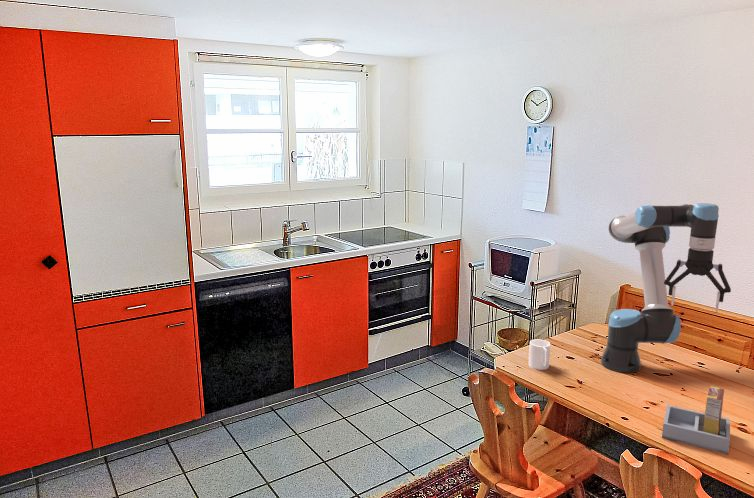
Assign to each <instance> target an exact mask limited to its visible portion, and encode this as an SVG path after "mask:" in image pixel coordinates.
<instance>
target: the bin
mask: <svg viewBox="0 0 754 498" xmlns="http://www.w3.org/2000/svg"><path fill="white" fill-rule="evenodd" d="M704 419H705V412H701V411H697V410H691V409H688V408H683V407H678V406H674V405H670V404H667V405H666V409H665V414H664V420H663V425H662V432H661V439H666V440H669V441H673V442H677V443H681V444H684V445H688V446H692V447H696V448H701V449H704V450H709V451H713V452H716V453H721V454H724V455H729V450H730V443H731V418H728V417H722V416H721V424H720V433H719V435H715V434H711V433H706V432H703V428H704Z"/></svg>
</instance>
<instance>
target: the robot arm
mask: <svg viewBox="0 0 754 498" xmlns="http://www.w3.org/2000/svg"><path fill="white" fill-rule="evenodd" d="M719 209H720V208H719V205H717V204H716V203H715V204H714V203H709V202H708V203H707V202H706V203H705V202H702V203H701V202H700V203H695V204H694V205H693V204H687V203H685V204H684V203H683V204H680V205H651V204H648V205H639V206H638V207H637V208H636V209H635V212H633V213H631V214H628V215H619V216H616V217H614V218H613V219H612V220H611V221H610V222H609V225H608V233H609V235H610V236H611V237H612V239H614V240H616V241H618V242H620V243H625V244H626V243H627V244H634V248H635V250H637V251H638V252H639V258H640V259H639V261H640V267H641V268H640V269H641V278H642V279H641V280H642V288H643V289H642V290H643V298H644V299H643V300H644V308H642V310H641V311H639V310H637V309H631V308H620V309H615V310H614V311H612V312H611V313H610V315H609V320H608V331H607V343H606V347H605V349H604V351H603V353H602V355H601V359H600V362H601V366H603V367H604V368H607V369H609V370H611V371H613V372H618V373H630V374H631V373H637V372H639V371H640V370H641V367H642V361H641V358H640V354H639V353H640V352H639V351H638V350H639V349H638V348H639V344H641V343H643V344H644V343H645V344H647V343H648V344H650V343H651V344H672V343H675V342H677V340H678V339H679V337H680V334H681V328H682V322H681V321H682V320H681V319H680V317H679V315H678V314H674V309H673V308H672V307H670V305H671V306H674V304H675V299H676V297H675V296H676V287H677V286H676V285H677V284H678V283H679V282H681V281H682V280H683V279H684V278H686V277H687V276H689V275H690V274H691V275H693V276H701V277H704V276H706V278H708V279H709V280H710V281H711V283H712V284H713V285H714V287H715V288H716V289H717V293H716V302H715V309H714V311H715V312H718V311H719V305H720V303H723V302H724V297H725V294H726V293H731V291H732V290H731V289H732V288H731V286H730V284H729V281H728V279H727V277H726V275H725V272H724V271H723V264H722V263H718V264H714V263H713V262H714V261H713V260H714V259H713V258H714V252H715V251H714V249H715V245H716V244H715V243H716V235H717V228H718V222H719ZM670 227H671V228H672V227H673V228H674V227H675V228H677V227H679V228H682V227H683V228H685V227H687V228H690V235H689V243H688V247H689V248H688V251H687V260H686V261H685V260H681V258H680V259H677V261H676V264H675V266H674V267H673V269H672V270H671V271H670V273H669V275H668V276H667V277H666V273H665V264H664V257H663V255H664V254H663V249H664V248H665V247H666V244H667V243H668V242H669V241H670V235H671V229H670ZM683 266H685V267H686V270H684V271H683V272H682V273H681V274H680V275H678V276H676V277H675V279H673V277H674V276H675V274H676V273H678V270H679V269H680V268H681V267H683ZM713 269H715V271H716V272H718V274H719V277H720V279H721V281H722V283H723V286H724V287H723V286H722V285H721V284H720V282H719V281H718V279H716V277H715V276H714V275H713V274H712V272H711V270H713ZM672 279H673V280H672ZM671 280H672V281H671ZM667 286H668V291H667ZM668 296H671V303H670V305H669V300H668Z"/></svg>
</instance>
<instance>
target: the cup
mask: <svg viewBox="0 0 754 498" xmlns="http://www.w3.org/2000/svg"><path fill="white" fill-rule="evenodd" d="M550 353H551V343H550V342H549V341H548V340H545V339H539V338H537V339H535V338H534V339H531V340H530V341H529V351H528V366H529V368H531V369H534V370H538V371H541V370H542V371H544V370H547V369H549V368H550V358H551V357H550V355H551V354H550Z"/></svg>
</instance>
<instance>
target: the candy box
mask: <svg viewBox="0 0 754 498" xmlns="http://www.w3.org/2000/svg"><path fill="white" fill-rule="evenodd" d="M724 393H725V388H720V387H717V386H712V385H711V386H709V389H708V391H707V394H706V401H705V410H704V413H705V419H704V428H703V432H706V433H711V434H715V435H719V433H720V424H721V417H722V414H723V413H722V412H723V404H724V402H723V401H724V395H725V394H724Z"/></svg>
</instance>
